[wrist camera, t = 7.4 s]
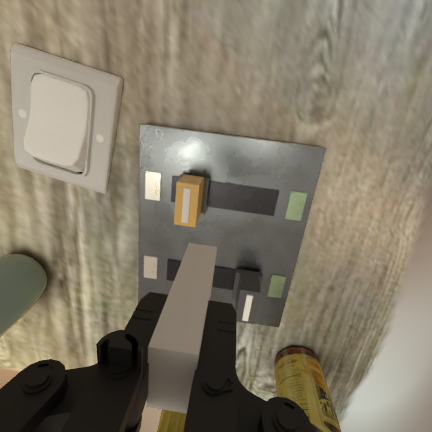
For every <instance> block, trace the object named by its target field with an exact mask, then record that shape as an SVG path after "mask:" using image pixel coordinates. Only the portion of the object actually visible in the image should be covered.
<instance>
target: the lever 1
mask: <svg viewBox="0 0 432 432" xmlns="http://www.w3.org/2000/svg"><path fill="white" fill-rule="evenodd" d="M209 183H210V178H207V177H200V176H193V175H186V174H180V175H179V180H178V181H177V183H176V199H175V215H174V224H175V225H182V226H189V227H196V225H197V222H198V220H199V217H200V215H201V213H203V214H206V211H207V202H208V193H209Z"/></svg>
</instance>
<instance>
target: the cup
mask: <svg viewBox="0 0 432 432" xmlns="http://www.w3.org/2000/svg"><path fill="white" fill-rule="evenodd" d="M46 284H47V276H46V273H45V270H44V269H43V267H42V266H41V265H40V264H39V263H38V262H37V261H36V260H34V259H33V258H31V257H29V256H27V255H23V254H9V255H4V256H1V257H0V337H1V336H2V335H3V334H4V333H5V332H7V331H8V330H9V329H10V328H11V327H12V326H13V325H14V324H15V323H16V322H17V321H18V320H19V319H20V318H22V317H23V316H24V315H25V314H26V313H27V312H28V311H29V310H30V309H31V307H32V306H33V305H34V304H35V303H36V302H37V300H38V299H39V298H40V296H41V295H42V294H43V292H44V290H45V288H46Z"/></svg>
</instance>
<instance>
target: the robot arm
mask: <svg viewBox="0 0 432 432" xmlns="http://www.w3.org/2000/svg"><path fill="white" fill-rule="evenodd" d="M216 253H217V247H215V246H208V245H201V244H194V243H189V244H188V247H187V249H186V252H185V254H184V257H183V259H182V262H181V264H180V267H179V269H178V272H177V275H176V277H175V280H174V282H173V285H172V287H171V290H170V292H169V295H167V294H161V293H154V292H149V293H148V294H146V295H145V296H144V297H143V298H142V299H141V300H140V301H139V303H138V305H137V307H136V310H135V311H134V313H133V315H132V317H131V318H130V320H129V322H128V324H127V326H126V328H125V330H118V331H115V332H111V333H109V334H107V335H106V336H104V337H103V338H102V339H101V340H100V341H99V342H98V343H97V344H96V345H97V359H98V363H97V364H95V365H92V366H88V367H83V368H76V369H69V370H65V366H64V365H63V364H62V363H61V362H59V361H56V360H52V359H49V360H42V361H39V362H36V363H34V364H31V365H29V366H28V367H26V368H25V369H24V370H22V371H21V372H19V373H18V374H17V375H16V376H15V377H14V378H13V379H12V380H10V381H9V382H8V383H7V384H6V385H5V386H3V387H2V388H1V389H0V432H139V431H140V427H141V421H142V412H143V409H144V405H145V402H146V399H147V407H152V408H157V409H163V410H169V411H175V412H181V413H186V420H185V425H184V431H183V432H314V429H313V427H312V425H311V422H310V420H309V418H308V417H307V415H306V413H305V412H304V410H303V409H302V408H301V407H300V406H299V405H298V404H297V403H296V402H294V401H292V400H290V399H288V398H286V397H278V396H277V397H274V398H271V399H269V400H268V401H265V400H263V399H261V398H259V397H257V396H256V395H254V394H252V393H251V392H249V391H248V390H247V389H246V388H245V387H244V386H243V385H242V384H241V383H240V381H239V379H238V377H237V374H236V368H235V365H236V320H237V313H236V311H235V309H234V307H233V305H232V304H230V303H224V302H217V301H211V300H210V296H211V290H212V283H213V275H214V268H215V260H216Z"/></svg>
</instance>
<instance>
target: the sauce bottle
mask: <svg viewBox="0 0 432 432" xmlns="http://www.w3.org/2000/svg"><path fill="white" fill-rule="evenodd" d="M275 378H276V386H277V395H278V397H286V398H288V399H290V400H292V401H294V402H296V403H297V404H298V405H299V406H300V407H301V408H302V409H303V410H304V412H305V413H306V415H307V417H308V418H309V420H310V422H311V425H312V427H313V429H314V432H341V429H340V426H339V422H338V419H337V416H336V413H335V410H334V406H333V403H332V400H331V397H330V394H329V390H328V387H327V384H326V381H325V378H324V374H323V371H322V368H321V365H320V364H319V362H318V359H317V358H316V356H315V355H314V354H313V353H312V352H311V351H310V350H308V349H306V348H304V347H303V348H300V347H290V348H286V349H284V350H282V351H281V352H280V353H278V354H277V357H276V360H275Z"/></svg>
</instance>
